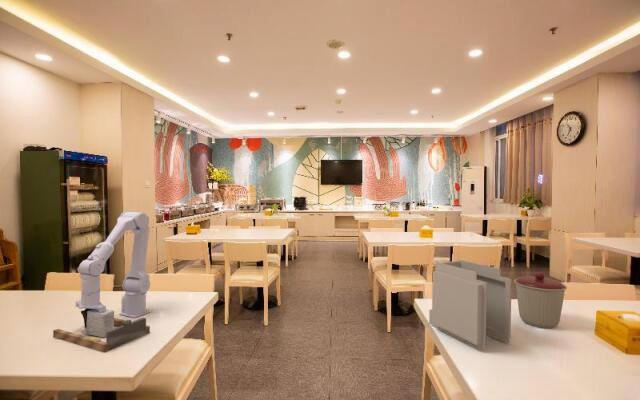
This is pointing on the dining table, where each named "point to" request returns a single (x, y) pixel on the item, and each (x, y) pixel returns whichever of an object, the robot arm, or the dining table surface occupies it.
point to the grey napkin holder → (471, 302)
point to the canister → (540, 300)
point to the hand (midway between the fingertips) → (90, 328)
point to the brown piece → (108, 335)
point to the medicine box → (99, 322)
